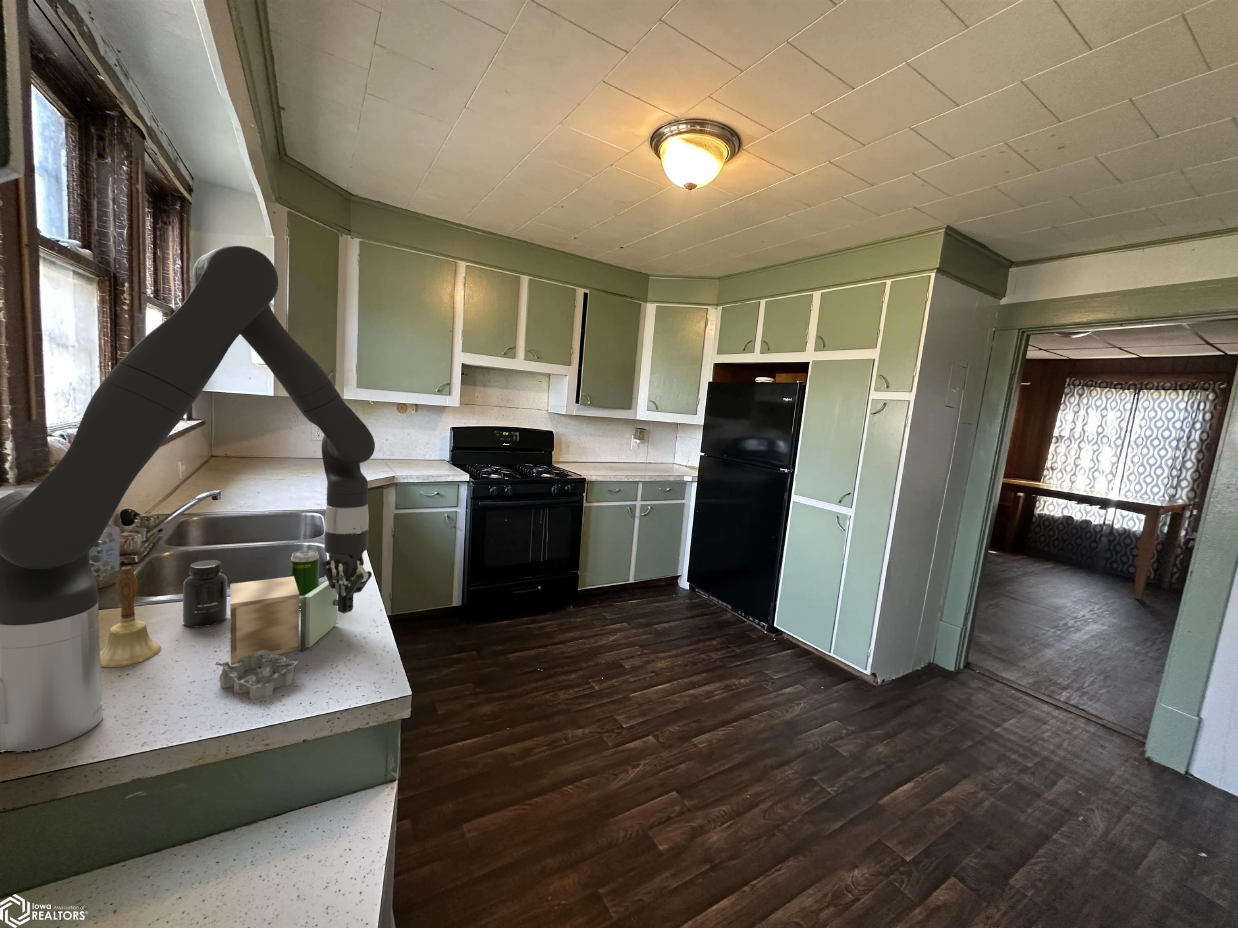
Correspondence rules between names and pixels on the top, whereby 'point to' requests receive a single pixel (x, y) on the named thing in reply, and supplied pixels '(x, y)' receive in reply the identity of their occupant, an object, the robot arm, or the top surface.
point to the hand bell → (128, 629)
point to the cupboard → (266, 617)
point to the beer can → (305, 571)
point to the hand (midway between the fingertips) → (345, 611)
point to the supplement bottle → (204, 594)
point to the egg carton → (258, 673)
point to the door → (320, 612)
